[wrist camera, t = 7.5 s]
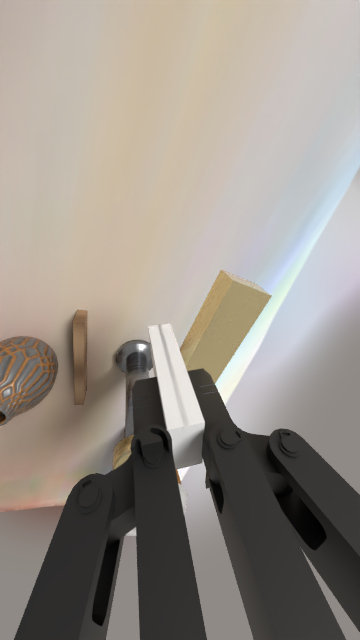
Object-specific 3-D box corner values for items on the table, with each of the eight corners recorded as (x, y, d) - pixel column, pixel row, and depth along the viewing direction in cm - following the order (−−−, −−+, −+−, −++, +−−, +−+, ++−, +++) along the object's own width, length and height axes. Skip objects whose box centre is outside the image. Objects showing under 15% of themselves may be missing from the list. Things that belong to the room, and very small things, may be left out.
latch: (271, 290, 13) (320, 324, 10) (159, 465, 20) (165, 520, 17) (198, 259, 11) (228, 289, 8) (103, 463, 19) (98, 524, 15)
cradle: (-47, 299, 21) (-67, 311, 19) (87, 310, 25) (83, 322, 23) (-21, 389, 27) (-33, 406, 25) (86, 389, 30) (83, 404, 28)
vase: (22, 381, 28) (-17, 452, 20) (-20, 339, 24) (-87, 407, 17) (75, 362, 28) (56, 426, 20) (41, 317, 24) (2, 375, 17)
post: (117, 338, 27) (111, 431, 17) (158, 341, 29) (175, 427, 18) (115, 370, 30) (108, 467, 19) (152, 370, 31) (165, 462, 21)
